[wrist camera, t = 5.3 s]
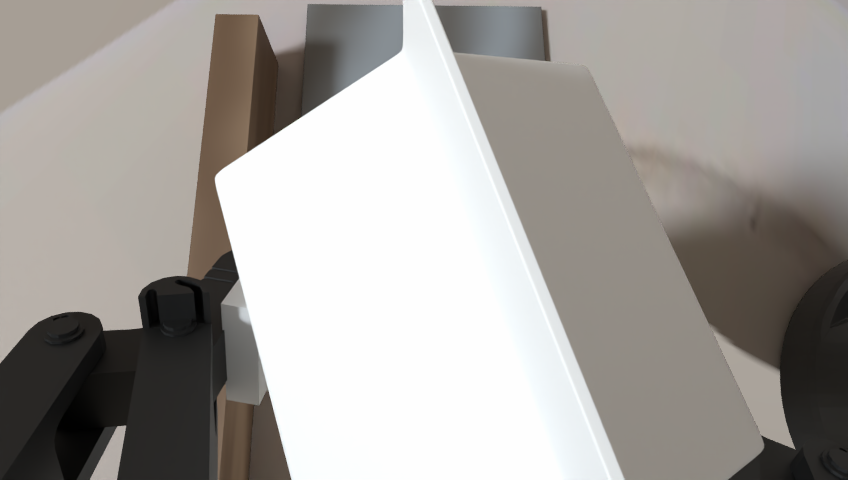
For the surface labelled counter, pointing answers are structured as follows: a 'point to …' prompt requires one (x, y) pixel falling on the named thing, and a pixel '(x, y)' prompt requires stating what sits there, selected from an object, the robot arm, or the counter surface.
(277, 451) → the counter surface
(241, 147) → the guide jig
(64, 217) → the counter surface
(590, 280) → the milk
